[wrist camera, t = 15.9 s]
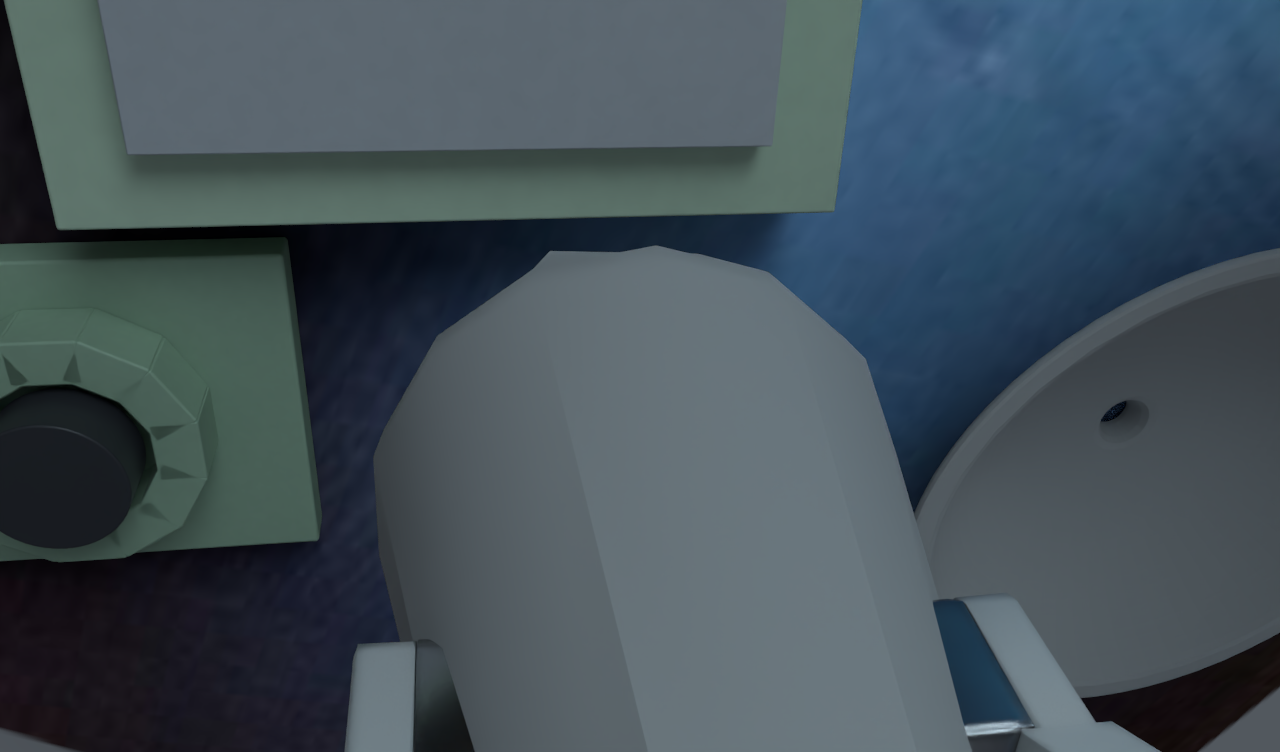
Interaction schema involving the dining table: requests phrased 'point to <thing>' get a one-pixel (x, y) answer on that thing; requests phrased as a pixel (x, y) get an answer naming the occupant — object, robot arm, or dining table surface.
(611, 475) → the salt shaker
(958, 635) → the robot arm
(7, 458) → the tare button
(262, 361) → the green dial panel
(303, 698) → the dining table surface
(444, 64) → the scale
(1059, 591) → the dish
